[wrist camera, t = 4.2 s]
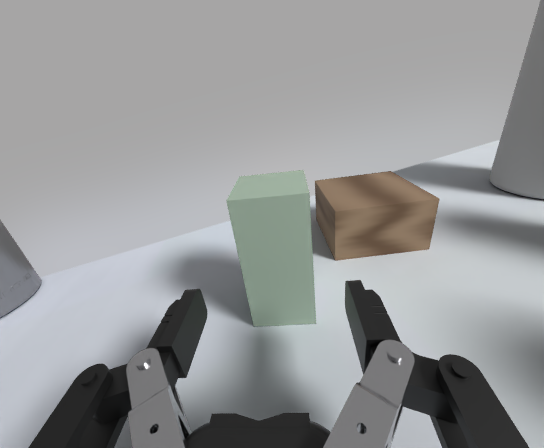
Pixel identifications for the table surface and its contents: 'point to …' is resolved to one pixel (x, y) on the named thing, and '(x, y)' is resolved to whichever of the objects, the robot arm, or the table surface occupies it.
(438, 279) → the table surface
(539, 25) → the cylinder vase
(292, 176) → the sage block
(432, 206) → the walnut block
